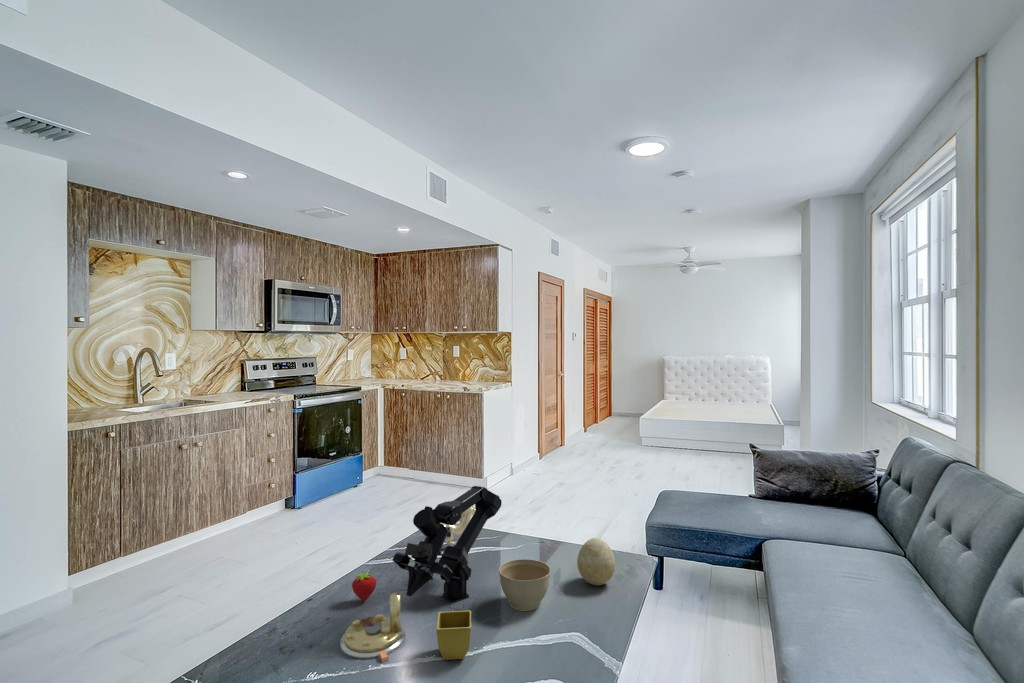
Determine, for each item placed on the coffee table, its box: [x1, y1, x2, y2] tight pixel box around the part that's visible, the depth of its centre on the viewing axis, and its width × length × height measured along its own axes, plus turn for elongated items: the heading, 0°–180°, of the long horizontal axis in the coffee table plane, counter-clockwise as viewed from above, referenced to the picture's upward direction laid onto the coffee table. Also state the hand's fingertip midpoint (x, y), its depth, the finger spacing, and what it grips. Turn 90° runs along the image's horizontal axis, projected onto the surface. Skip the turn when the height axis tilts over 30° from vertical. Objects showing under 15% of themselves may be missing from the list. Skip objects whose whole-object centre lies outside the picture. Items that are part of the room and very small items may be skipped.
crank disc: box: [343, 592, 402, 653], centre depth 138 cm, size 15×15×11 cm
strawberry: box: [351, 571, 378, 602], centre depth 159 cm, size 6×8×10 cm
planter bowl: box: [498, 558, 552, 612], centre depth 157 cm, size 16×16×11 cm
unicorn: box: [440, 505, 475, 546], centre depth 202 cm, size 20×4×17 cm, turn 111°
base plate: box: [339, 623, 406, 660], centre depth 138 cm, size 17×17×4 cm
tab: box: [378, 651, 389, 663], centre depth 129 cm, size 3×2×1 cm, turn 31°
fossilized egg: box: [576, 537, 616, 586], centre depth 171 cm, size 13×13×15 cm
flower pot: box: [436, 610, 472, 661], centre depth 131 cm, size 9×9×9 cm
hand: (408, 595), depth 143 cm, fingers closed
